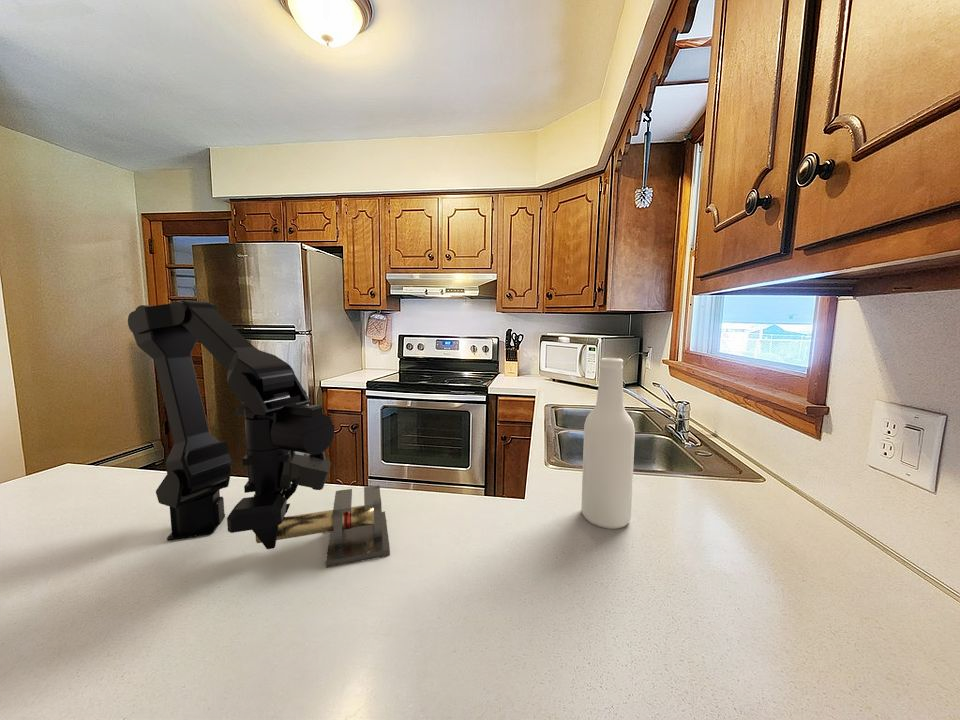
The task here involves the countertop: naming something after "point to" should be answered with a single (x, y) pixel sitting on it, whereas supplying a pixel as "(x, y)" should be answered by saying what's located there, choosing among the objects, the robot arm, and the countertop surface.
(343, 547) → the grey slotted stand
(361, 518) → the tube
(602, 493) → the alcohol
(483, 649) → the countertop surface
